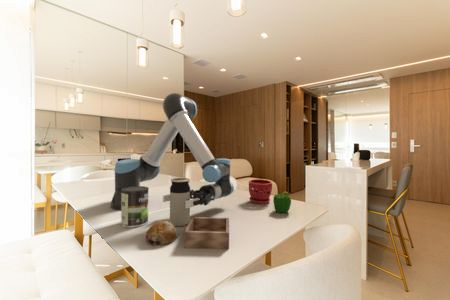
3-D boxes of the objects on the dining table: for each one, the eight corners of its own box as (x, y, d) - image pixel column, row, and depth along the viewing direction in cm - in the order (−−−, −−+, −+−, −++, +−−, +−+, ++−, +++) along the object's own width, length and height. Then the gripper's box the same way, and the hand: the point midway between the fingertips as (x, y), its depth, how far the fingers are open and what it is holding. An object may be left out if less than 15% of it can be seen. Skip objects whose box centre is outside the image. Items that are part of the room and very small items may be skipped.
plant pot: (243, 201, 125) (244, 180, 125) (258, 197, 134) (259, 178, 133) (261, 206, 115) (261, 184, 115) (276, 202, 124) (277, 181, 123)
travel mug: (165, 223, 89) (165, 179, 88) (179, 218, 96) (180, 177, 95) (179, 228, 85) (180, 181, 84) (193, 222, 91) (194, 179, 91)
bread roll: (178, 251, 74) (186, 227, 76) (153, 248, 67) (163, 222, 69) (161, 242, 81) (170, 220, 83) (137, 238, 74) (147, 214, 76)
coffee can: (153, 219, 93) (153, 186, 93) (139, 229, 83) (139, 192, 83) (131, 217, 95) (131, 185, 95) (115, 226, 85) (115, 190, 85)
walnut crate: (184, 247, 69) (184, 232, 69) (191, 230, 83) (191, 217, 83) (228, 248, 69) (229, 233, 69) (228, 230, 83) (228, 217, 83)
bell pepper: (269, 211, 108) (269, 191, 107) (278, 208, 114) (278, 188, 113) (284, 215, 102) (285, 194, 101) (293, 212, 108) (294, 191, 107)
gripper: (230, 205, 97) (196, 217, 80) (191, 196, 112) (155, 205, 95) (231, 188, 97) (197, 197, 80) (191, 181, 112) (155, 187, 95)
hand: (174, 201), depth 87 cm, fingers open, 13 cm apart
